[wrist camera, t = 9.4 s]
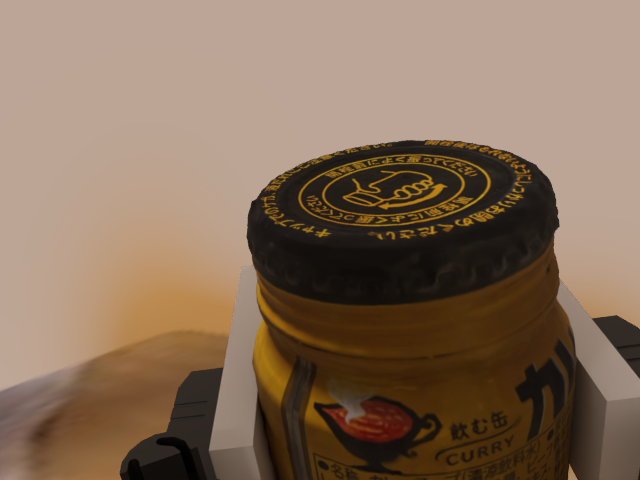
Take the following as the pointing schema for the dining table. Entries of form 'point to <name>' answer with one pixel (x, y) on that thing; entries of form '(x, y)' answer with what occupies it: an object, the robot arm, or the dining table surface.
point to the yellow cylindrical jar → (412, 317)
